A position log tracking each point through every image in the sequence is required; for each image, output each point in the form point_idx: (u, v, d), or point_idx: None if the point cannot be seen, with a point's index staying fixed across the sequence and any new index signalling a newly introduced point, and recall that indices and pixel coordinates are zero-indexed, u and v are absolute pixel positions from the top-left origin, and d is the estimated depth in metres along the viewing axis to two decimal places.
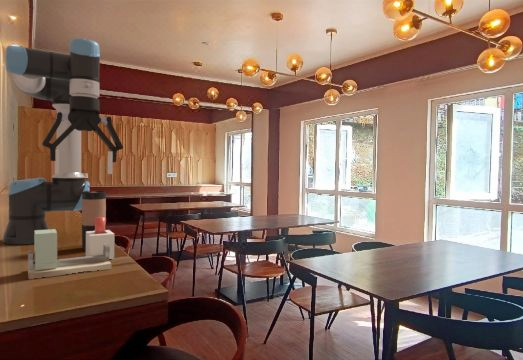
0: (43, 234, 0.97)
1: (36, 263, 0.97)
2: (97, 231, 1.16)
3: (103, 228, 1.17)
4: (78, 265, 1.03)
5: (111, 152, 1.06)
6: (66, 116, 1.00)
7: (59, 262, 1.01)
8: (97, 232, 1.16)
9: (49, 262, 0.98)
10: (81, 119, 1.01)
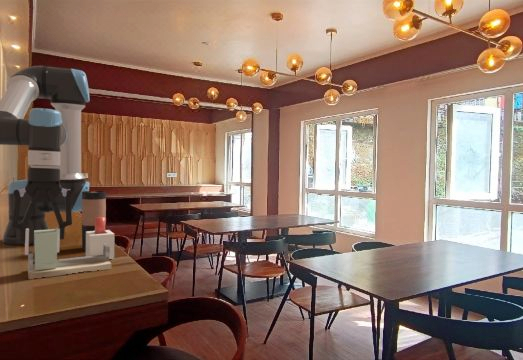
0: (43, 234, 0.97)
1: (36, 263, 0.97)
2: (97, 231, 1.16)
3: (103, 228, 1.17)
4: (78, 265, 1.03)
5: (58, 229, 1.01)
6: (24, 190, 0.97)
7: (59, 262, 1.01)
8: (97, 232, 1.16)
9: (49, 262, 0.98)
10: (39, 191, 0.97)
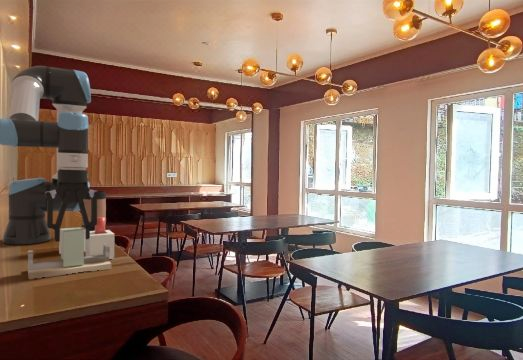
0: (71, 232, 1.01)
1: (64, 260, 1.00)
2: (97, 231, 1.16)
3: (103, 228, 1.17)
4: (78, 265, 1.03)
5: (84, 230, 1.04)
6: (54, 192, 1.00)
7: (59, 262, 1.01)
8: (97, 232, 1.16)
9: (76, 259, 1.02)
10: (69, 192, 1.01)
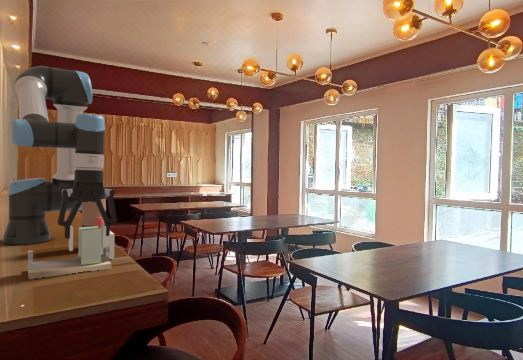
0: (88, 231, 1.03)
1: (82, 258, 1.03)
2: None
3: None
4: (78, 265, 1.03)
5: (105, 227, 1.07)
6: (71, 191, 1.03)
7: (59, 262, 1.01)
8: None
9: (94, 257, 1.04)
10: (85, 191, 1.03)
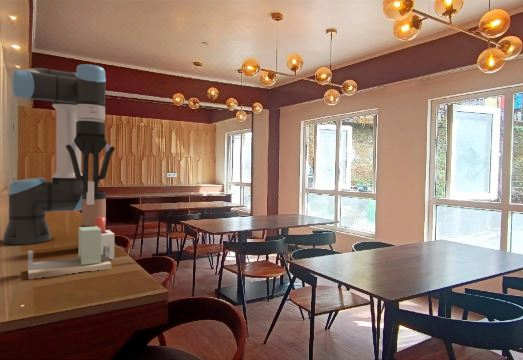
0: (88, 231, 1.03)
1: (82, 258, 1.03)
2: None
3: (103, 228, 1.17)
4: (78, 265, 1.03)
5: (93, 182, 1.05)
6: (74, 144, 1.03)
7: (59, 262, 1.01)
8: None
9: (94, 257, 1.04)
10: (87, 143, 1.03)
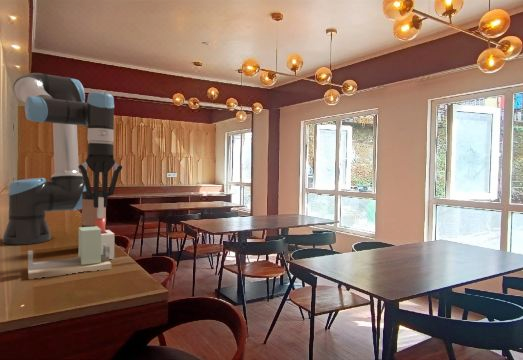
0: (88, 231, 1.03)
1: (82, 258, 1.03)
2: None
3: (103, 229, 1.17)
4: (78, 265, 1.03)
5: (102, 198, 1.16)
6: (86, 164, 1.13)
7: (59, 262, 1.01)
8: None
9: (94, 257, 1.04)
10: (97, 163, 1.14)
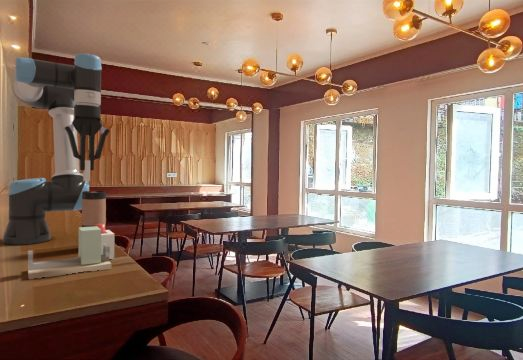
0: (88, 231, 1.03)
1: (82, 258, 1.03)
2: None
3: None
4: (78, 265, 1.03)
5: (89, 161, 1.16)
6: (72, 126, 1.13)
7: (59, 262, 1.01)
8: None
9: (94, 257, 1.04)
10: (84, 125, 1.14)
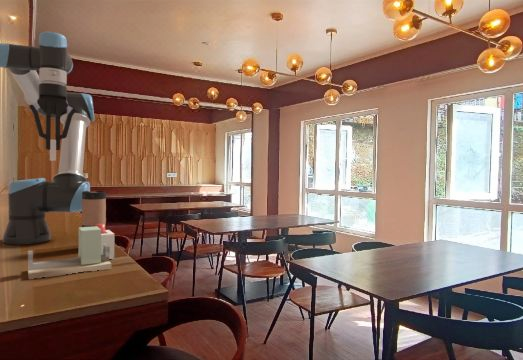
0: (88, 231, 1.03)
1: (82, 258, 1.03)
2: None
3: None
4: (78, 265, 1.03)
5: (54, 140, 1.15)
6: (37, 104, 1.12)
7: (59, 262, 1.01)
8: None
9: (94, 257, 1.04)
10: (49, 103, 1.13)
